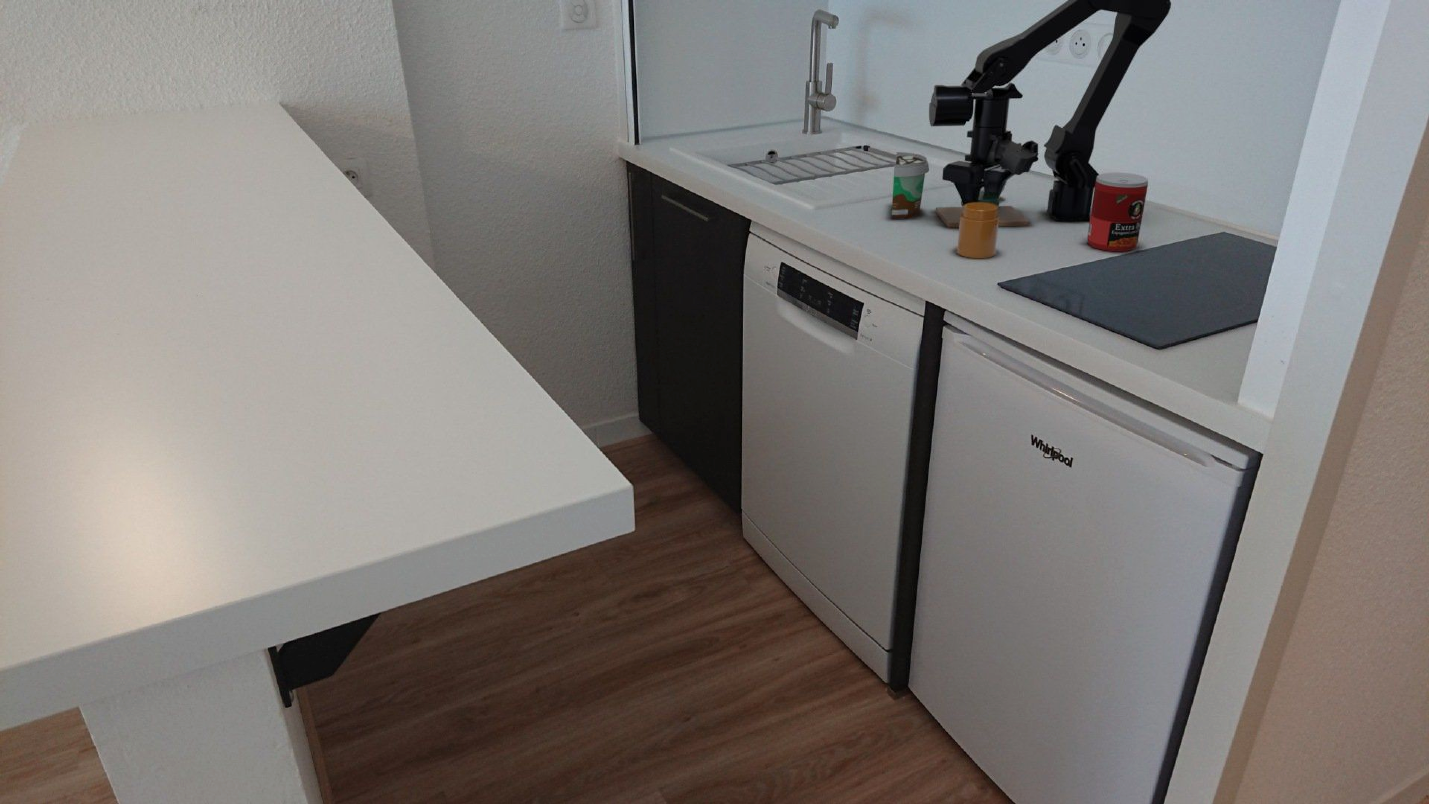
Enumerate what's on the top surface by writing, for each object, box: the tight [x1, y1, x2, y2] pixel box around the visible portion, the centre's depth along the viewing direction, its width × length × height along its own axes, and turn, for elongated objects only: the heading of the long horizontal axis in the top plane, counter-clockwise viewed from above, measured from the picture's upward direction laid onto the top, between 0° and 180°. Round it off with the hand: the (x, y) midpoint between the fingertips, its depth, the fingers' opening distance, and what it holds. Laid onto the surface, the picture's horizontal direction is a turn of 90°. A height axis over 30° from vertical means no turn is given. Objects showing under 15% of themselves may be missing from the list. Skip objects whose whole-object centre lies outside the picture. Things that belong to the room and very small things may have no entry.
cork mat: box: [935, 205, 1029, 228], centre depth 172 cm, size 14×11×1 cm
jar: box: [956, 202, 999, 259], centre depth 152 cm, size 6×6×8 cm
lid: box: [960, 191, 1000, 207], centre depth 171 cm, size 6×6×2 cm
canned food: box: [1086, 172, 1149, 252], centre depth 153 cm, size 8×8×11 cm
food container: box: [890, 151, 930, 220], centre depth 175 cm, size 12×6×10 cm, turn 168°
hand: (980, 213), depth 172 cm, fingers closed on lid, 6 cm apart
